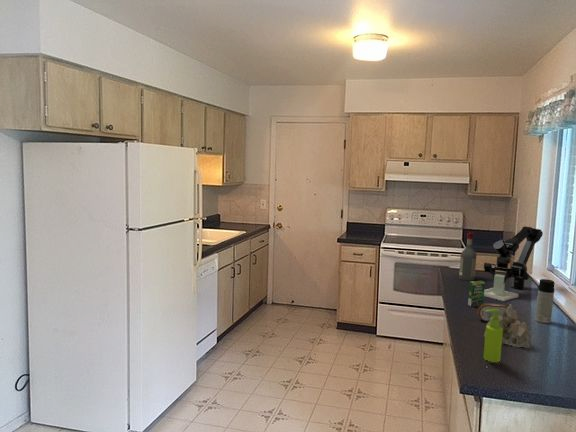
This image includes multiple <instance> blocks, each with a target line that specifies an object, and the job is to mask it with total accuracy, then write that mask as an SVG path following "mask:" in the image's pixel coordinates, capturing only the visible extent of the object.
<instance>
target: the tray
mask: <svg viewBox="0 0 576 432" xmlns="http://www.w3.org/2000/svg"><path fill="white" fill-rule="evenodd" d="M485 297H486V298H489V299H493V300H496V299H497V301H500V302H507V301H510V300H514V299H517V298H519V293H517V292H511V291H507V290H505V289H504V293H503V295H502V294H496V293H493V287H490V288H487V289H484V298H485Z"/></svg>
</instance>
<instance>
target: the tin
mask: <svg viewBox="0 0 576 432" xmlns="http://www.w3.org/2000/svg"><path fill="white" fill-rule="evenodd" d="M507 307H508V306H507V304H502V303H491V302H490V303H489V302H487V303H486V302H485V303H483V304H482V305H480V306H477V309H476V313H477V316H478V318H479V319H480V320H482V321H484V322H489V321H490V318H491V317H493V312H489V313H487V312H486V311H485V310H487V309H499V310H500V311H501V312H499V316H501V317H502V316H503V314H504V312H505V310H507Z"/></svg>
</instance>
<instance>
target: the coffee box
mask: <svg viewBox="0 0 576 432" xmlns="http://www.w3.org/2000/svg"><path fill="white" fill-rule="evenodd" d="M468 282H469V283H468V295H467V296H468V297H467V299H468V300H467V306H469V307H470V308H472V307H473V308H475V307H479V306H480V305H482V304H484V301H485V300H484V299H485V296H484V290H485V287H486V286H485V285H486V282H485V281H484V280H476V281H475V280H473V281H468Z"/></svg>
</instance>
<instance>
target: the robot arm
mask: <svg viewBox="0 0 576 432" xmlns="http://www.w3.org/2000/svg"><path fill="white" fill-rule="evenodd" d="M543 236H544V234H543V231H542V229H541V228H540V229H539V228H533V227H531V226H523V227H521V229H520V231H519V232H517V233H516V234H515V235H514V236H513V237H512V238H508V239H507V240H505V241H504V239H499V241H496V242H494V243H493V244H492V245H493V249H494V250H495V251H496V253H497V254H498V255H499V256H496V265H493V264H492V263H491V262H489V263H488V262H485V263H484V264H483V270H484V272H485V273H490V274H491V275H492V277H493V279H492V280H494V276H495V275H496V274H497V273H496V271H498V272H504V273H506V274H505V275H506V276H505V279H504V283H505V284H506V282H507V281H508V280H509V279H510V278H513V285H512V286H510V288H511V289H516V290H519V291H521V290H525V289H527V287H525V281H528V280H529V278H530V275H529V274H528V272H527V271H528V266H527V263H528V261H529V259H530V256H531V254H532V251H533V249H534V246H535V245H536V244H537V243H538V242H539V241H540V240H541V239H542V237H543ZM524 240H526V241H525V243H524V245H523V248H522V250H521V252H520V255H519V257H518V260H516V261H513V262H512V265H511V266H510V268H509V264H511V259H512V258H513V257H512V253H511V252H513V253H516V252H517V251H518V249H520V244H521V243H522V242H523V241H524Z"/></svg>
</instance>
